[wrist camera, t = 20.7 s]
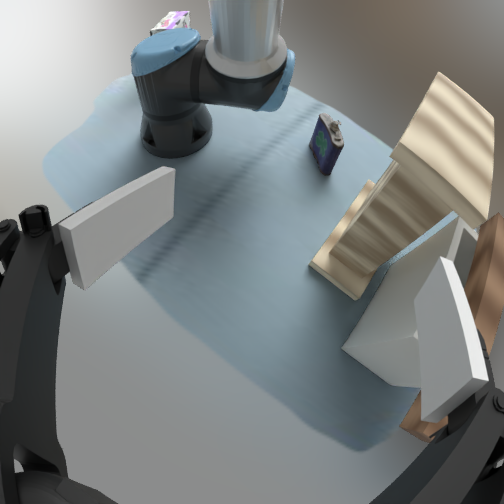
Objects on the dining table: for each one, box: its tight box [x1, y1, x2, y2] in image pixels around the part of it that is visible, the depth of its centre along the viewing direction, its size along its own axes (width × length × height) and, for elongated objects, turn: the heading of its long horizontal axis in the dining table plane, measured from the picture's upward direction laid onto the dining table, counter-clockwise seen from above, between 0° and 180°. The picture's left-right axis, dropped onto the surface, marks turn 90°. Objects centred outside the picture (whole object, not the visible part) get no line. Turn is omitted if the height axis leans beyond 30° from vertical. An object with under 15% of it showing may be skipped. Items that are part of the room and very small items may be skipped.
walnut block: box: [399, 213, 504, 443], centre depth 23 cm, size 28×4×4 cm, turn 142°
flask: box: [309, 113, 344, 175], centre depth 51 cm, size 9×3×11 cm, turn 12°
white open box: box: [341, 216, 478, 388], centre depth 35 cm, size 18×12×20 cm, turn 142°
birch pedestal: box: [309, 72, 494, 300], centre depth 36 cm, size 22×10×30 cm, turn 142°
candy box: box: [150, 11, 190, 36], centre depth 57 cm, size 14×6×16 cm, turn 172°
